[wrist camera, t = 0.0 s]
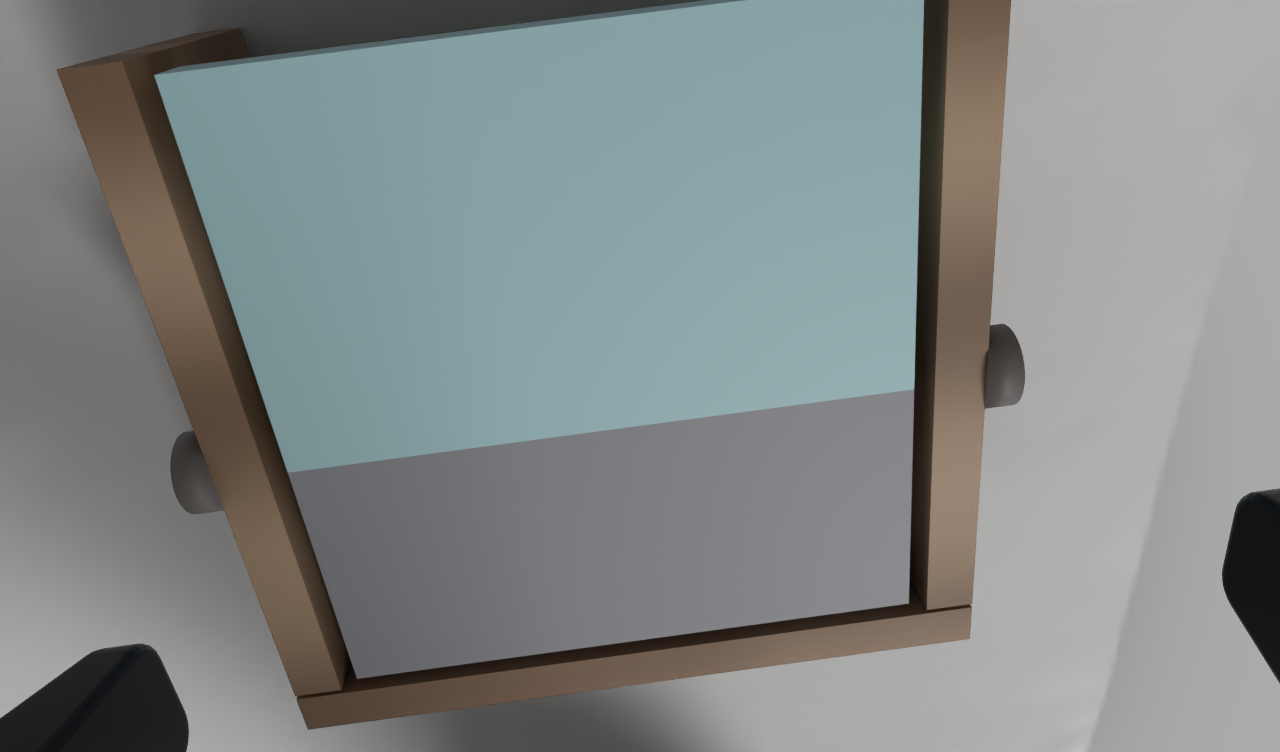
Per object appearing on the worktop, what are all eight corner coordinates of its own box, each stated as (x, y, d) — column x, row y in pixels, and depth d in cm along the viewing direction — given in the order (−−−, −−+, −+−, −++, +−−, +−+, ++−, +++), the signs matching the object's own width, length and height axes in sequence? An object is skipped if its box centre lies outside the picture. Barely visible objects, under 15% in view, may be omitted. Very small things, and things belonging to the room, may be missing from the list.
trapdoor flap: (881, 550, 21) (908, 603, 20) (373, 618, 21) (357, 678, 19) (885, -28, 16) (924, -23, 14) (199, 60, 16) (154, 75, 14)
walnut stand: (912, 497, 25) (1002, 644, 20) (337, 575, 25) (276, 744, 20) (926, -59, 19) (1061, -56, 14) (162, 37, 19) (6, 77, 14)
